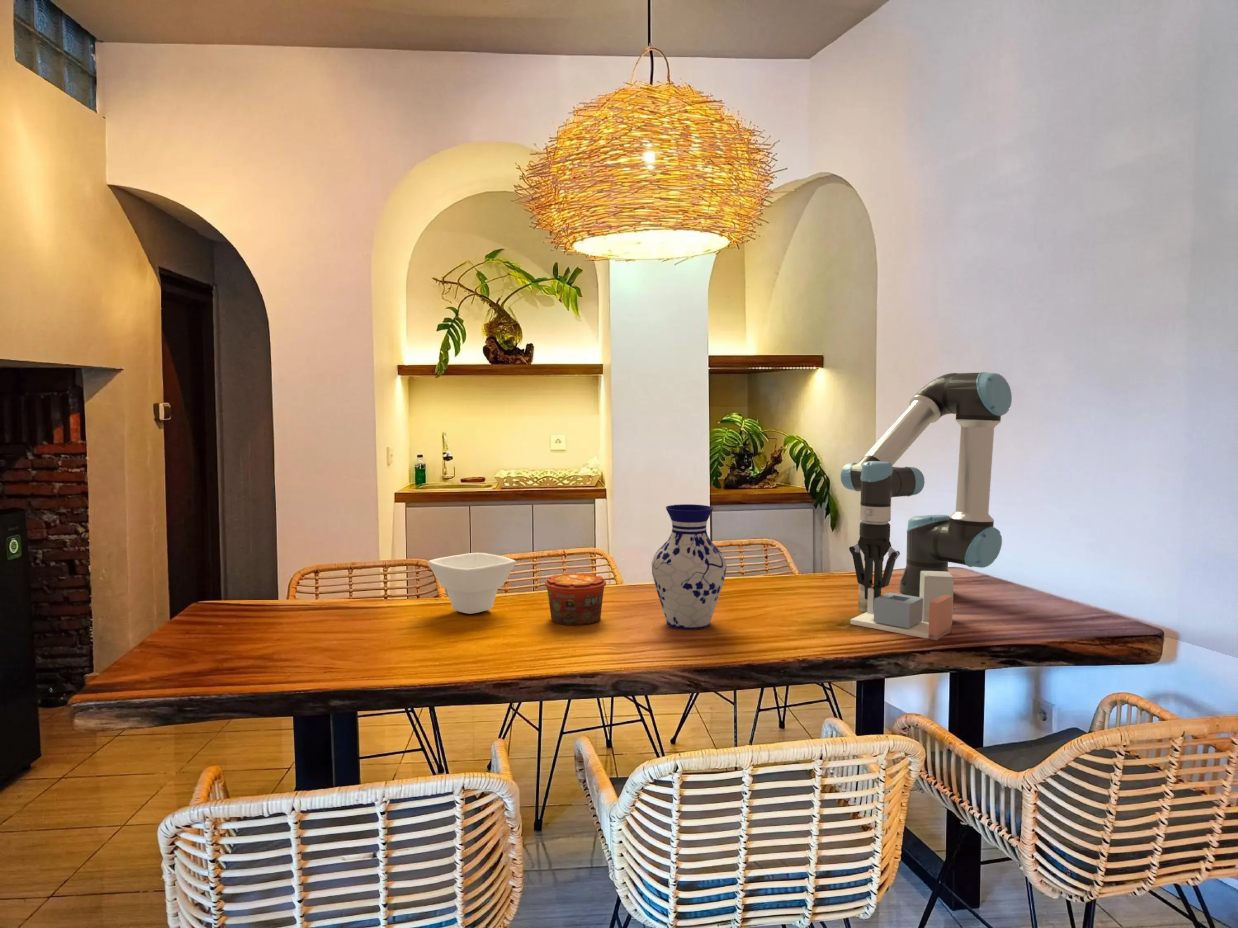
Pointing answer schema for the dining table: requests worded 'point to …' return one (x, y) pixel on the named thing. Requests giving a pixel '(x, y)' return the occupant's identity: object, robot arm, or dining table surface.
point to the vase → (688, 569)
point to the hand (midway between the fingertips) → (872, 612)
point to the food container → (575, 598)
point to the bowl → (472, 579)
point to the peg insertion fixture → (933, 630)
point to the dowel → (862, 598)
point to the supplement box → (934, 588)
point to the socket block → (898, 610)
